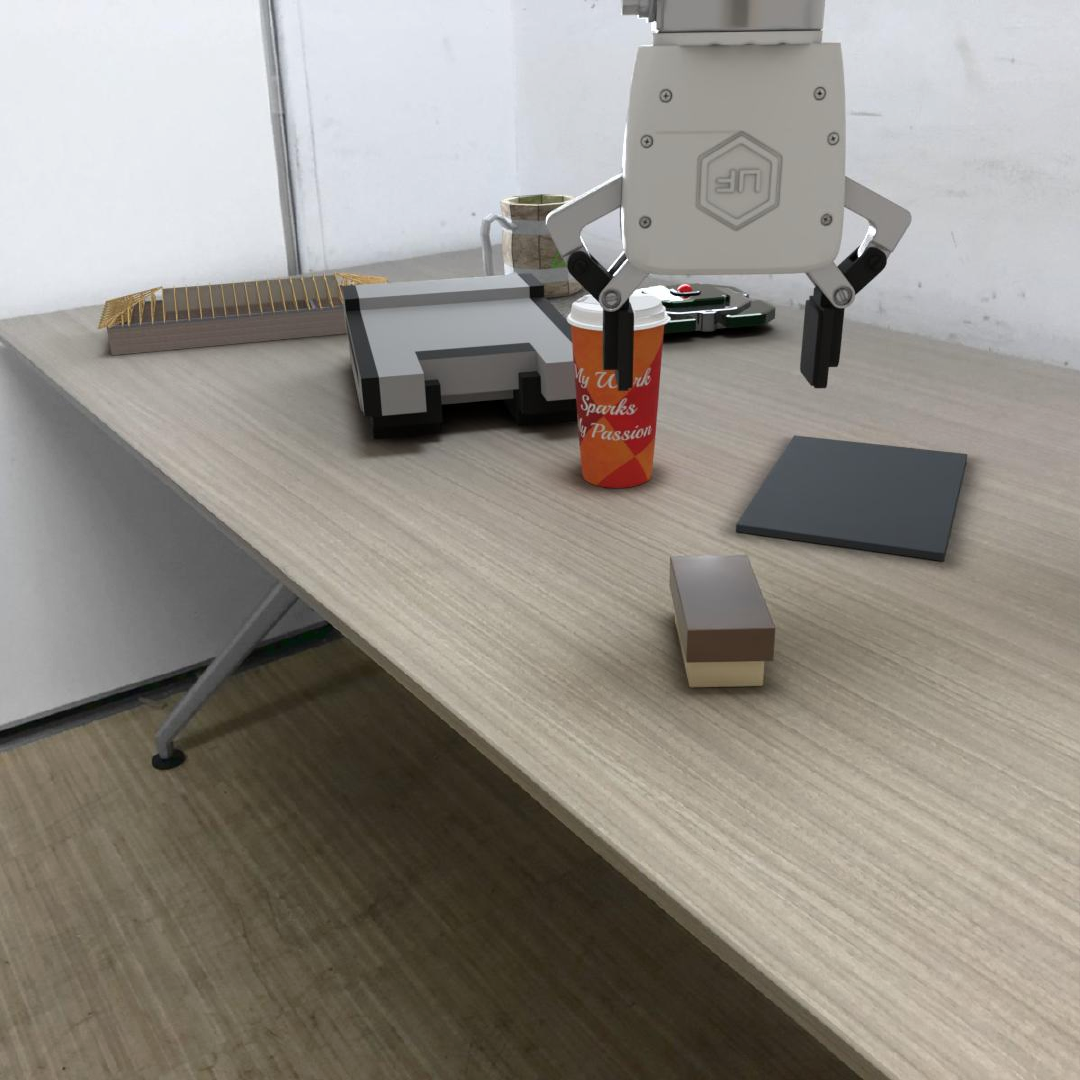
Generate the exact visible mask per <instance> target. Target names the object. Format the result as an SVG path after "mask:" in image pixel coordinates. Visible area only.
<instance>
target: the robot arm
mask: <svg viewBox="0 0 1080 1080" xmlns="http://www.w3.org/2000/svg"><path fill="white" fill-rule="evenodd" d="M825 8H826V0H620V12H621V16H637V19H645V22H646V23H650V25H651V26H650V29H651V31H655V33H654V32H653V33H652V44H643V45H641V44H639V45H638V46H637V48H636V49H637V50H636V54H635V59H634V63H633V68H632V73H631V79H630V87H629V100H628V108H627V113H626V114H627V115H626V119H625V127H624V139H623V149H622V162H621V163H622V164H621V172H620V173H618V174H617V175H614V176H612V177H611V178H610V179H608V180H606V181H604V182H602V183H600V184H599V185H597V186H595V187H593V188H591V189H590V190H588V191H586V192H584V193H582V194H581V195H579V196H577V197H576V198H575V199H573V200H571V201H570V202H568V203H566V204H564V205H562V206H561V207H559V208H557V209H555V210H553V211H551V212H550V213H549V214H548V216H547V218H546V227H547V230H548V232H549V234H550V236H551V238H552V240H553V242H554V244H555V246H556V247H557V249H558V251H559V253H560V255H561V257H562V259H563V260H564V262H565V264H566V266H567V268H568V271H569V273H570V274H571V275H572V276H573V277H574V278H575V279H576V280H577V281H578V282H579V283H580V284H581V287H582V288H583V289H584V290H586V292H588V293H589V295H590V294H591V295H592V296H593V297H594V298H595V299H596V300H597V301H598V302H599V303H600V305H601V307H602V308H603V352H602V358H603V370H615V378H616V383H617V387H618V391H629V388H633V350H634V312H633V309H632V306H631V303H630V302H629V297H630V296H631V295H632V294H633V292H634V291H635V290H636V289H639V287H640V286H641V284H642V283H643V282H644V281H645V280H646V279H647V278H648V276H649V275H650V274H652V275H659V276H740V275H741V276H744V275H745V276H746V275H751V276H752V275H789V274H791V275H792V274H793V275H794V274H805V275H806V277H807V278H808V280H810V282H811V283H812V284H813V286H814V287H813V292H812V293H813V294H812V295H809V297H808V299H806V300H805V303H804V304H805V305H804V316H803V328H802V337H801V338H802V339H801V340H802V341H801V350H800V351H801V352H800V361H799V362H800V364H799V372H800V373H801V375H802V376H803V377H804V379H805V380H806V381H807V382H808V384H809V386H811V387H813V388H814V389H826V388H827V387H828V380H829V369H830V368H838V367H839V364H840V359H841V349H842V340H843V329H844V319H845V310H846V308H848V307H850V306H851V305H853V303H854V301H855V298H856V296H857V295H858V294H859V293H860V292H861V291H862V290H863V289H864V288H865V287H867V286H868V285H869V284H870V283H871V282H872V281H873V280H874V279H875V278H876V277H877V276H878V275H879V274H881V273H882V272H883V270H884V269H885V268H886V266H887V264H888V258H890V256H891V254H892V253H894V251H895V250H896V248H897V246H898V245H899V243H900V241H901V240H902V238H903V236H904V235H905V233H906V232H907V230H908V228H909V227H910V226H911V223H912V214H911V212H910V211H909V210H908V209H906V208H904V207H902V206H901V205H899V204H898V203H895V202H893V201H891V200H890V199H889V198H886V197H884V196H882V195H881V194H879V193H878V192H875V191H874V190H872V189H871V188H868V187H866V186H865V185H863V184H861V183H859V182H857V181H855V180H854V179H852V178H850V177H848V176H846V155H847V152H846V151H847V150H846V142H847V141H846V140H847V139H846V138H847V136H846V135H847V120H846V119H847V117H846V116H847V115H846V87H845V69H844V59H843V52H842V51H843V50H842V43H841V42H823V34H824V33H823V32H824V30H823V29H824V20H825ZM845 208H846V209H847V210H850V211H851V212H852V213H854V214H857V215H858V216H860V217H862V218H863V219H865V220H867V222H868V230H867V232H866V234H865V237H864V239H863V241H862V243H861V244H860V245H859V246H857V247H856V248H855V249H854V250H853V251H852V252H851V253H850V254H849V255H847V257H845V258H844V259H843V260H842V261H841V262H840V263H839V264H837V265H836V263H835V262H834V261H835V260H836V259H837V258H838V254H839V252H840V249H841V244H842V238H843V229H844V217H845ZM616 210H619V227H620V229H619V230H620V239H621V244H622V248H623V251H622V252H621V253H620V255H619V256H618V257H617V258H616V260H615V261H614V262H613V263H612V264H611V266H610V267H609V268H608V269H606V268H605V267H604V266H603V265H602V264H601V262H599V261H598V260H597V258H595V257H594V256H593V254H591V252H589V250H588V249H587V247H586V244H585V242H584V240H583V239H582V235H581V233H582V231H583V229H584V228H585V227H586V226H588V225H591V224H592V223H593V222H596V221H598V220H599V219H601V218H603V217H605V216H607V215H608V214H610V213H612V212H614V211H616Z"/></svg>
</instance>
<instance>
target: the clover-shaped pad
mask: <svg viewBox="0 0 1080 1080" xmlns="http://www.w3.org/2000/svg"><path fill="white" fill-rule="evenodd" d="M634 293H644V294H649V295H653V296H656V297H658V298H659V299H661V302H662V306H664V307H665V308H666V311H665V312H666V313H667V315H668V316H669V317H670V321H669V322H668V323H667V324H664V333H663V335H665V334H676V333H686V332H695V331H700V332H704V333H705V332H714V331H717V329H727V328H728V329H734V328H735V329H736V328H745V327H756V326H763V325H767V324H769V323H770V322H771V321H773V320H775V319H776V308H777V307H776V306H775V305H773V304H771V303H769V302H767V301H765V300H763V299H751V298H750V293H747V292H746V291H744V290H742V289H740V288H739V287H736V286H732V285H724V284H723V285H722V284H713V283H698V282H696V283H695V282H694V283H683V284H682V283H681V284H672V285H671V284H670V285H669V284H663V285H657V286H648V287H644V288H637V289H636V290H635V291H634Z"/></svg>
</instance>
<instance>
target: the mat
mask: <svg viewBox="0 0 1080 1080" xmlns="http://www.w3.org/2000/svg"><path fill="white" fill-rule="evenodd" d="M967 461H968V454H967V453H961V452H953V451H944V450H943V451H942V450H935V449H924V448H916V447H915V448H914V447H907V446H898V445H897V446H896V445H888V444H877V443H869V442H859V441H851V440H850V441H849V440H841V439H832V438H821V437H815V436H814V437H812V436H805V435H803V436H802V435H793V436H792V437H791V439H790V441H789V443H788V444H787V445H786V447H785V448H784V450H783V452H782V453H781V455H780V457H779V458H778V459H777V461H776V463H775V464H774V466H773V467H772V469H771V470H770V472H769V473H768V475H767V476H766V478H764V481H763V482H762V484H761V486H759V489H758V490H757V492H756V493H755V494H754V496H753V498H752V499H751V501H750V502H749V504H748V506H747V507H746V509H745V510H744V511H743V513H742V515H740V518H739V519H738V521H737V522H736V524H735V533H736V532H737V533H744V534H751V535H758V536H764V537H772V538H779V539H786V540H792V541H798V542H799V541H800V542H807V543H814V544H819V545H820V544H821V545H828V546H833V547H834V546H835V547H841V548H847V549H848V548H849V549H855V550H856V549H857V550H862V551H868V552H869V551H870V552H877V553H883V554H890V555H898V556H905V557H912V558H917V559H918V558H920V559H925V560H933V561H939V562H940V561H941V562H944V561H945V558H946V553H947V548H948V544H949V539H950V535H951V531H952V525H953V522H954V518H955V513H956V508H957V504H958V500H959V496H960V490H961V486H962V483H963V478H964V474H965V469H966V465H967Z"/></svg>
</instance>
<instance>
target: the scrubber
mask: <svg viewBox="0 0 1080 1080" xmlns="http://www.w3.org/2000/svg"><path fill="white" fill-rule="evenodd" d="M668 578H669V581H668V582H669V583H668V585H669V590H670V595H671V599H672V603H673V608H674V624H675V627H676V632H677V636H678V637H677V638H678V640H679V641H678V642H679V646H680V651H681V655H682V659H683V664H684V669H685V673H686V676H687V683H688V686H689V688H730V687H732V688H733V687H738V688H739V687H762V686H764V677H765V662H773V661H774V657H775V641H776V626H775V624H774V621H773V618H772V616H771V613H770V610H769V608H768V605H767V603H766V601H765V598H764V595H763V593H762V589H761V588H760V585H759V582H758V580H757V577H756V574H755V572H754V569H753V566H752V564H751V561H750V558H749V556H748V554H717V555H674V556H673V555H672V556H669V577H668Z"/></svg>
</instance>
